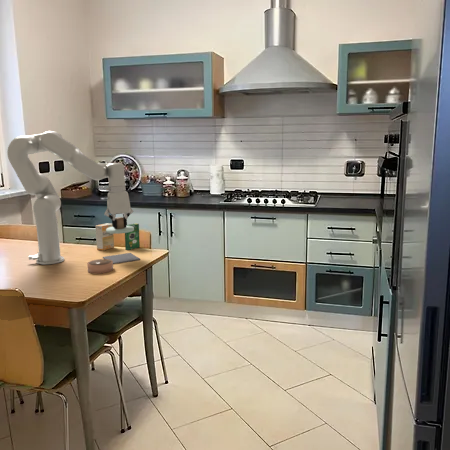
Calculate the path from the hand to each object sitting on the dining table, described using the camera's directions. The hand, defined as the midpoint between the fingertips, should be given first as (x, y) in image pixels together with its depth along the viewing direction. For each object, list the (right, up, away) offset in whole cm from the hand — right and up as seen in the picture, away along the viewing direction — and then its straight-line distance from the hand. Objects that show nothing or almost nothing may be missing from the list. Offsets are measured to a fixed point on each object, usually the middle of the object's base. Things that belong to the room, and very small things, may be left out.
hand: (119, 227), depth 226 cm
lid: (0, -2, 0) cm, 2 cm away
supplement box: (-13, -12, +24) cm, 30 cm away
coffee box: (+2, -12, +23) cm, 26 cm away
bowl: (-5, -19, -15) cm, 25 cm away
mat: (0, -15, +3) cm, 16 cm away
